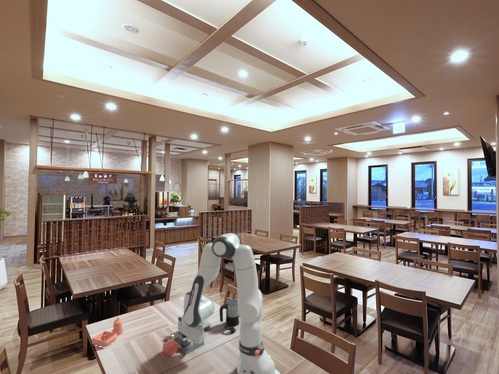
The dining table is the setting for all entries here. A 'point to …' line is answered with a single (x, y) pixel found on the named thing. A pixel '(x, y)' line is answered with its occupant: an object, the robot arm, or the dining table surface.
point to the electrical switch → (205, 325)
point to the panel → (177, 337)
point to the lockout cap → (170, 347)
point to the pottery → (109, 335)
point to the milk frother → (230, 314)
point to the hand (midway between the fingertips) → (190, 344)
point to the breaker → (184, 342)
